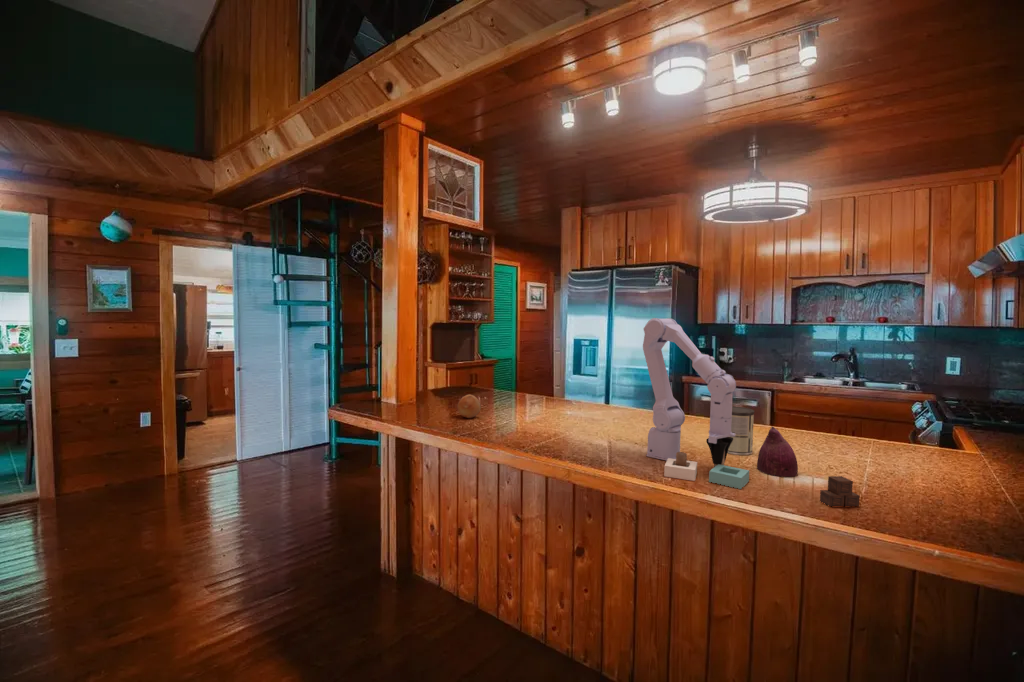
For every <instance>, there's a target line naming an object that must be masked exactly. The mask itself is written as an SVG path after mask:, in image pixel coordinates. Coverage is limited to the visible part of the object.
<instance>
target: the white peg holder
mask: <svg viewBox="0 0 1024 682" xmlns="http://www.w3.org/2000/svg"><path fill="white" fill-rule="evenodd" d="M663 472H664V473H663V474H664V476H663V477H664V478H672V479H680V480H685V481H686V480H687V481H691V482H692V481H693V482H695V481H696V477H697V473H698V461H692V460H687V463H686V467H684V466H676V459H672V458H668V459H667V460H666V462H665V464H664V471H663Z"/></svg>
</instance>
